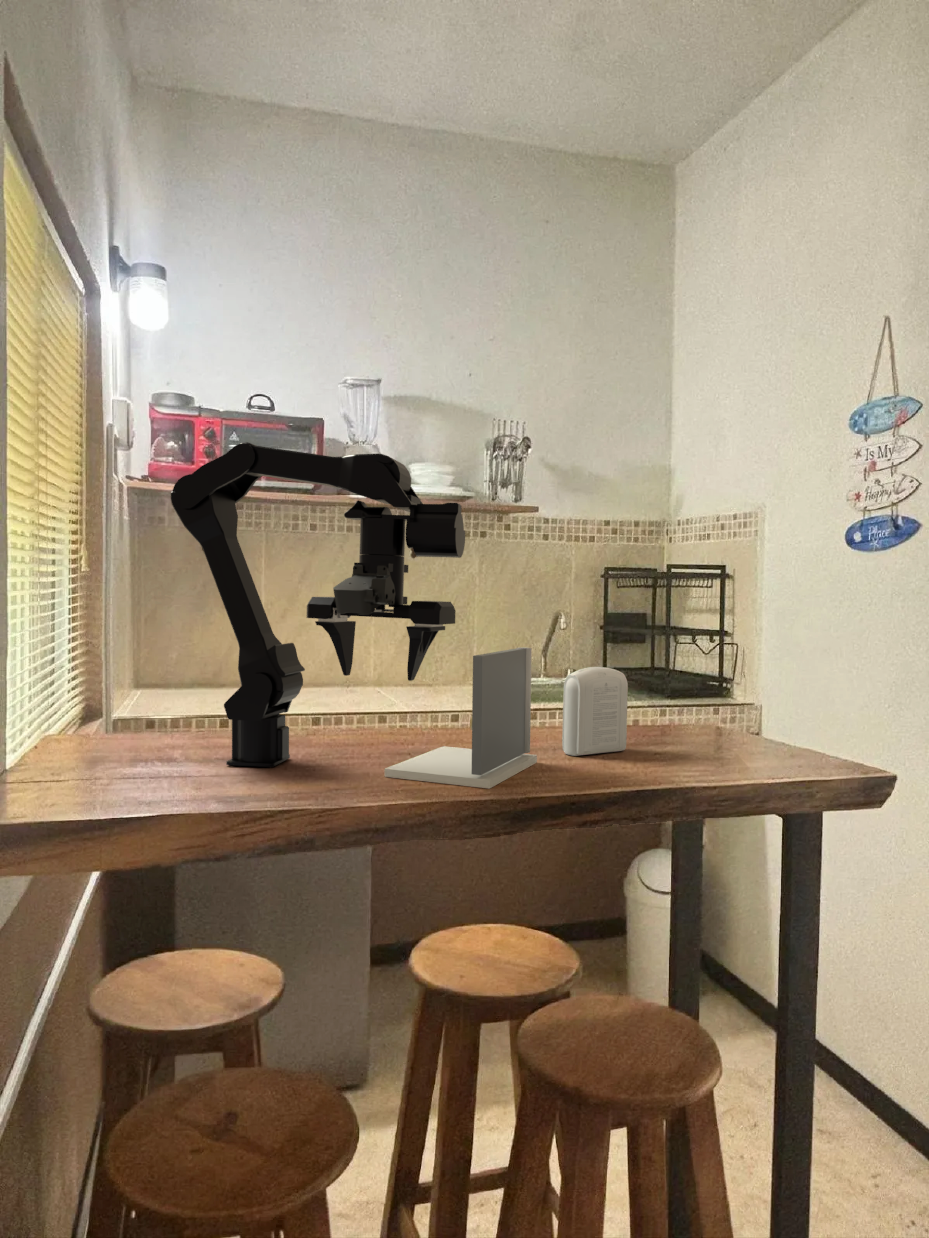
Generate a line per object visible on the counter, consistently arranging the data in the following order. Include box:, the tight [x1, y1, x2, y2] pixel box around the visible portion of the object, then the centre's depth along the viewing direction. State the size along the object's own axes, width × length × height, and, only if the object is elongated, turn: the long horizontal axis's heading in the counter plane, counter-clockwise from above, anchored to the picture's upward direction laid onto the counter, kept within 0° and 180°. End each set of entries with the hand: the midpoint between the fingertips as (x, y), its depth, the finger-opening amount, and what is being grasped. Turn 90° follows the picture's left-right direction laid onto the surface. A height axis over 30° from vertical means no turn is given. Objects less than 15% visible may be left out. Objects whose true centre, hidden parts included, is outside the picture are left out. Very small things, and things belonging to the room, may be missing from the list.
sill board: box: [384, 745, 538, 789], centre depth 110 cm, size 14×17×1 cm
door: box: [469, 647, 532, 775], centre depth 108 cm, size 3×17×14 cm, turn 156°
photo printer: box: [561, 666, 629, 757], centre depth 123 cm, size 10×4×12 cm, turn 123°
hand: (378, 677), depth 109 cm, fingers open, 9 cm apart
